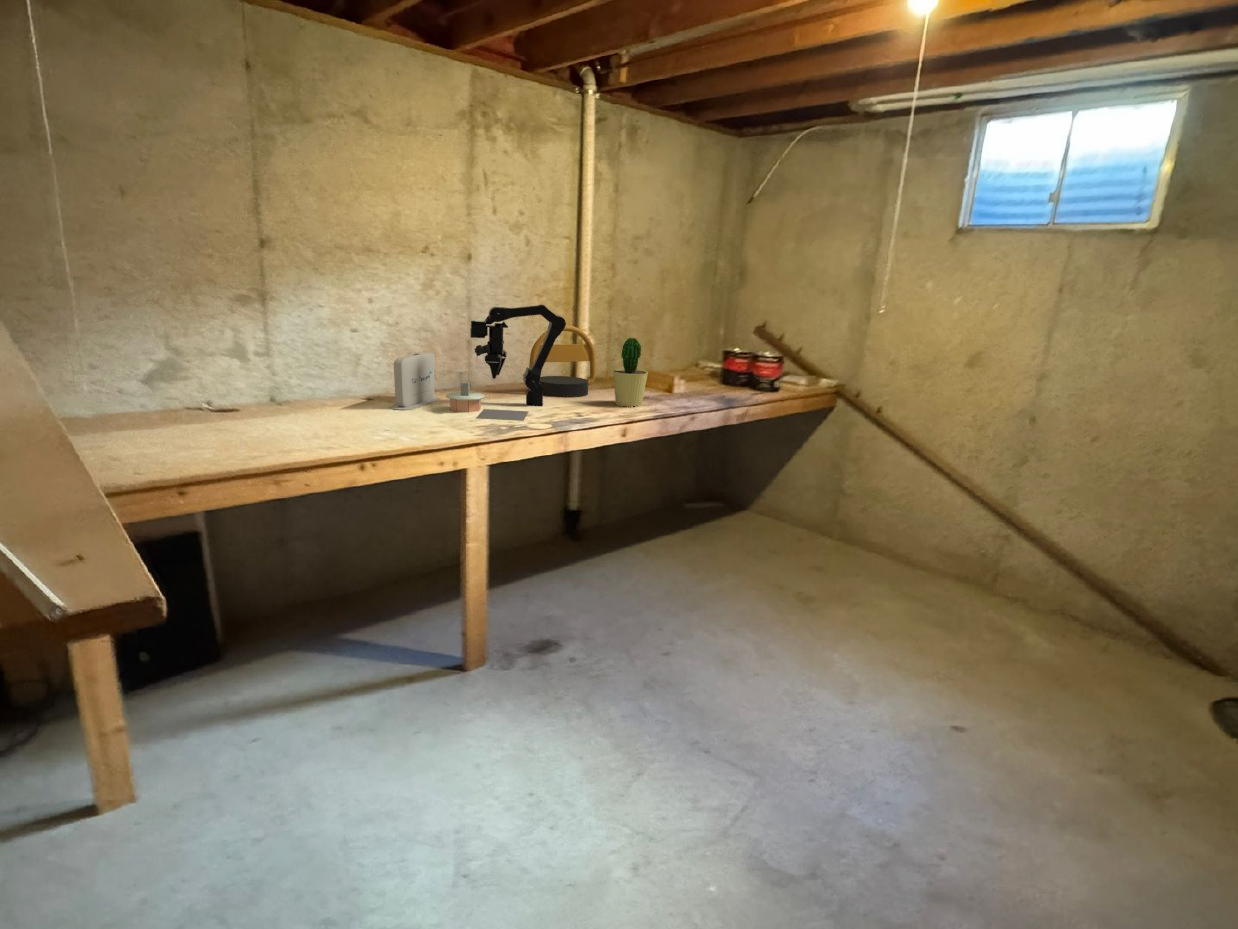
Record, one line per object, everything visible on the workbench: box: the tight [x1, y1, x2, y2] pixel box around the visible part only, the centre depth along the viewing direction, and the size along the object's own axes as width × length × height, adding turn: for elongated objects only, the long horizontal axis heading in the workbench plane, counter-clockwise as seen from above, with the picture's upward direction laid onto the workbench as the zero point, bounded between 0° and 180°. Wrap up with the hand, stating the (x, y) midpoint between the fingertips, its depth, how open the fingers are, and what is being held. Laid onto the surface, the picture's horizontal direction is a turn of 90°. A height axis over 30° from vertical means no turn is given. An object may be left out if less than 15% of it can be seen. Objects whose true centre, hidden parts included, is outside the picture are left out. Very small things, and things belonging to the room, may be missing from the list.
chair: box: [528, 324, 597, 399], centre depth 320 cm, size 25×35×32 cm
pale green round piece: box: [445, 381, 486, 400], centre depth 271 cm, size 15×15×6 cm
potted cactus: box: [612, 337, 649, 407], centre depth 300 cm, size 15×15×30 cm
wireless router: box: [389, 351, 441, 411], centre depth 279 cm, size 31×10×20 cm, turn 168°
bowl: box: [449, 398, 482, 413], centre depth 273 cm, size 11×11×6 cm
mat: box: [475, 408, 530, 422], centre depth 267 cm, size 18×18×1 cm
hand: (495, 376), depth 283 cm, fingers open, 9 cm apart
